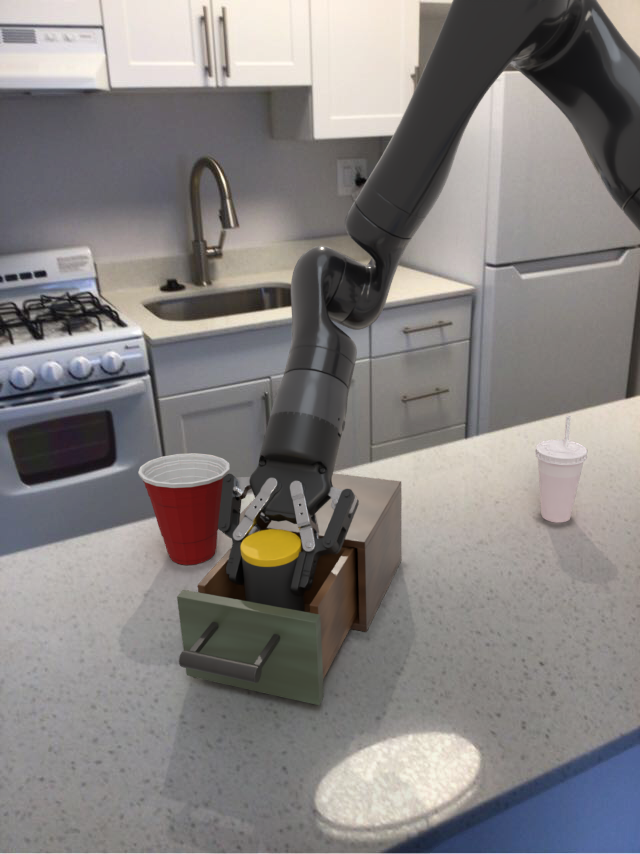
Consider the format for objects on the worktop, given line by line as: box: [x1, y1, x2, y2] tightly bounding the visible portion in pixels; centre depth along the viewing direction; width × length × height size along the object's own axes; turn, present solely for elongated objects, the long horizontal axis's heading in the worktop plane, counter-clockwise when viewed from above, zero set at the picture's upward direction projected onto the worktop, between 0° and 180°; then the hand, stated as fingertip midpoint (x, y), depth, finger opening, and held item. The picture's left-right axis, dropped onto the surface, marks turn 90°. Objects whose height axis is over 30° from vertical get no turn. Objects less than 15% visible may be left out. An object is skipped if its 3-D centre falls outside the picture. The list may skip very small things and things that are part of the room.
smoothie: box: [534, 415, 588, 524], centre depth 97 cm, size 6×6×14 cm
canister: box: [240, 529, 305, 612], centre depth 72 cm, size 6×6×8 cm
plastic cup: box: [137, 452, 230, 566], centre depth 92 cm, size 11×11×12 cm
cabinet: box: [239, 472, 402, 633], centre depth 85 cm, size 15×15×11 cm
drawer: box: [176, 539, 357, 706], centre depth 71 cm, size 19×13×9 cm
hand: (266, 587), depth 71 cm, fingers closed on canister, 5 cm apart
